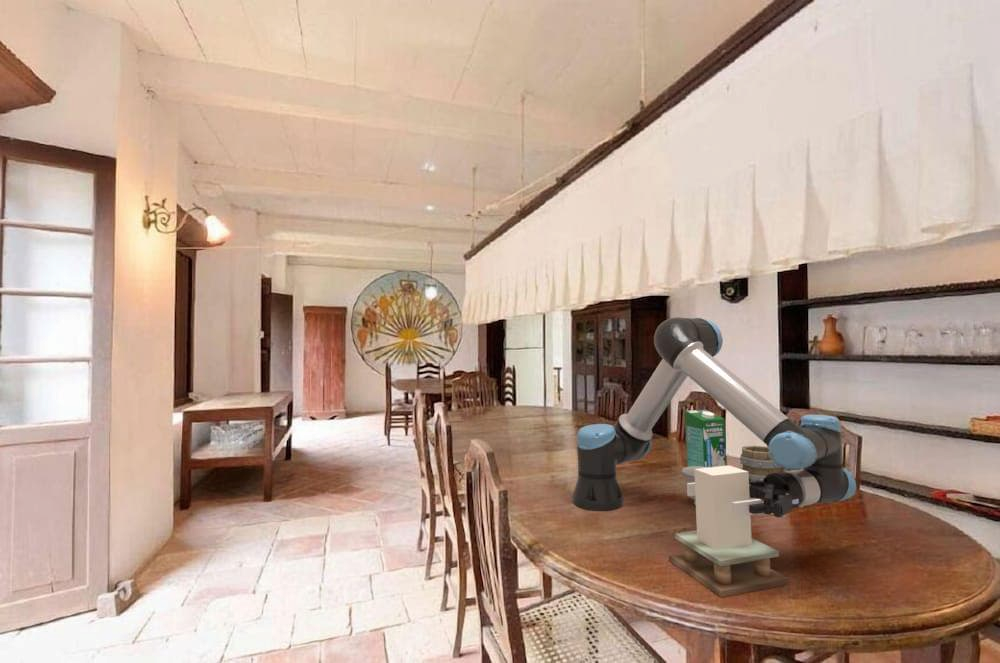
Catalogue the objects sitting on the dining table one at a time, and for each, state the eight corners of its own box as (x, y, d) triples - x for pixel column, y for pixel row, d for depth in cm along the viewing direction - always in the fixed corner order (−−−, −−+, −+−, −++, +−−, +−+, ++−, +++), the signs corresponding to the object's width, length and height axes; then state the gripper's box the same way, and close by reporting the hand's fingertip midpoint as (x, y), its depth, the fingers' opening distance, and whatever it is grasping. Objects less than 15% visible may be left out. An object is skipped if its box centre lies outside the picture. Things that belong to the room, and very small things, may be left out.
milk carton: (705, 488, 153) (702, 413, 154) (687, 481, 162) (684, 410, 163) (727, 485, 156) (724, 412, 157) (708, 478, 164) (705, 409, 165)
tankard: (762, 500, 140) (759, 451, 140) (730, 488, 152) (729, 443, 152) (812, 493, 145) (810, 446, 146) (778, 483, 157) (776, 439, 158)
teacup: (732, 516, 127) (731, 480, 127) (677, 506, 136) (676, 472, 136) (740, 504, 137) (739, 470, 137) (688, 495, 146) (687, 464, 146)
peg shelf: (669, 560, 102) (668, 532, 102) (728, 550, 106) (727, 523, 106) (721, 597, 86) (719, 564, 87) (788, 584, 90) (787, 552, 91)
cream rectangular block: (697, 539, 98) (694, 469, 99) (731, 534, 100) (728, 465, 101) (715, 550, 93) (712, 475, 93) (751, 544, 95) (748, 471, 96)
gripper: (846, 526, 89) (757, 540, 84) (746, 489, 113) (673, 498, 108) (844, 487, 90) (755, 499, 84) (745, 459, 114) (671, 466, 108)
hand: (709, 499), depth 96 cm, fingers open, 13 cm apart
